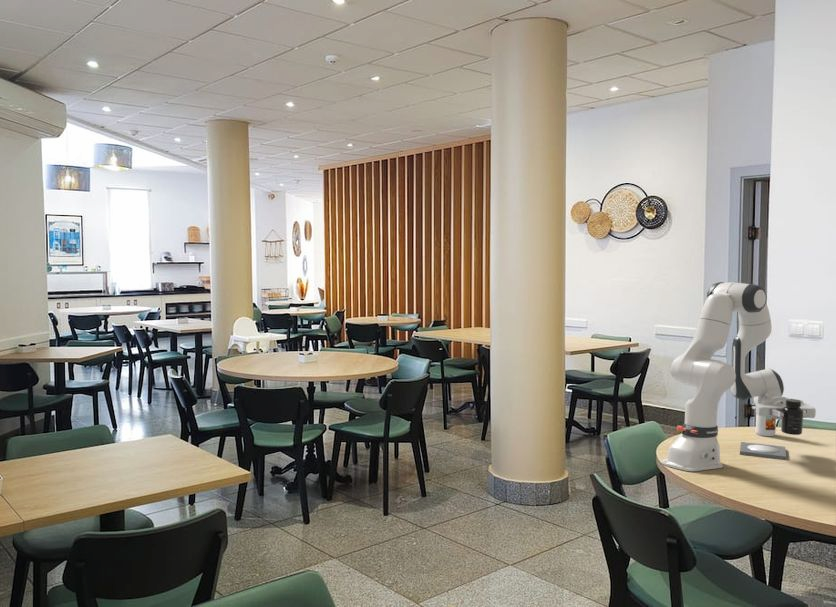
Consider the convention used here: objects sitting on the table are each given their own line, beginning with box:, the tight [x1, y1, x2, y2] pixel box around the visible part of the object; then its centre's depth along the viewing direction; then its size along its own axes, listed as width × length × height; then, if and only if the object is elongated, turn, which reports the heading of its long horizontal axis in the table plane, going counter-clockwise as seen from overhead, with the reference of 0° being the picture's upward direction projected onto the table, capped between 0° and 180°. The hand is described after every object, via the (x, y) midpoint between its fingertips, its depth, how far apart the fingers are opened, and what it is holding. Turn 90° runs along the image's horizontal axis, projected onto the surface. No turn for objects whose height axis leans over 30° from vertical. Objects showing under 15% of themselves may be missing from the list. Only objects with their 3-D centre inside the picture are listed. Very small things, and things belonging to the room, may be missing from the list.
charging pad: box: [739, 441, 787, 460], centre depth 273 cm, size 16×16×1 cm
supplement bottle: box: [780, 398, 804, 436], centre depth 254 cm, size 7×7×12 cm
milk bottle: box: [755, 413, 777, 437], centre depth 301 cm, size 8×8×20 cm
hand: (793, 415), depth 253 cm, fingers closed on supplement bottle, 7 cm apart
